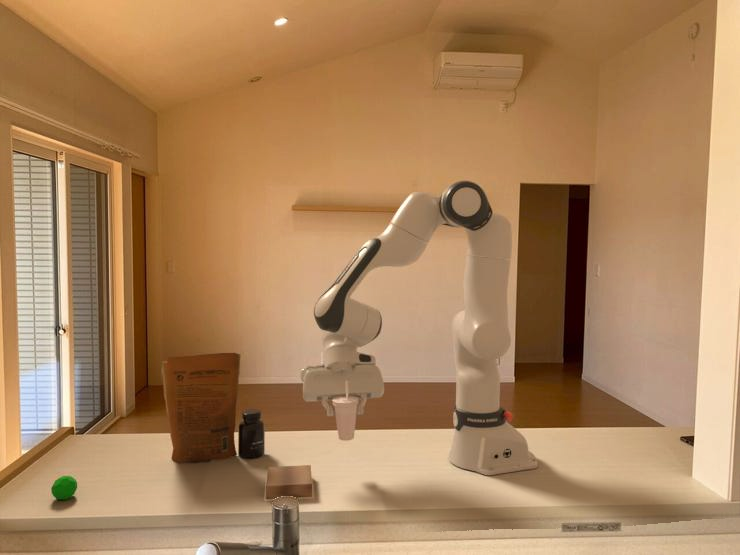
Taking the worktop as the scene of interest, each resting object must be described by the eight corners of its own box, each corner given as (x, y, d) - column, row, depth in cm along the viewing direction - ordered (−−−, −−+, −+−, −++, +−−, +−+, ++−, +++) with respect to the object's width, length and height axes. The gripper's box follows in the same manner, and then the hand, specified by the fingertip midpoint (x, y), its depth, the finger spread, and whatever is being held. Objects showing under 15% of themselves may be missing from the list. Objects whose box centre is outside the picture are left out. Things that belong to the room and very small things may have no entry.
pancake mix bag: (241, 462, 142) (239, 354, 140) (162, 467, 139) (160, 356, 137) (242, 452, 149) (241, 349, 147) (168, 456, 146) (165, 351, 144)
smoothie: (349, 444, 131) (348, 386, 130) (327, 439, 134) (326, 382, 133) (364, 435, 136) (363, 379, 135) (343, 431, 140) (341, 376, 138)
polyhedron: (47, 503, 120) (46, 482, 120) (59, 492, 125) (58, 472, 125) (70, 503, 120) (69, 482, 120) (81, 493, 125) (81, 472, 125)
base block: (310, 477, 133) (310, 465, 133) (312, 496, 123) (312, 483, 123) (268, 479, 132) (268, 467, 131) (266, 499, 122) (265, 486, 121)
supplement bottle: (258, 462, 143) (258, 416, 142) (233, 459, 144) (233, 414, 143) (268, 451, 149) (268, 408, 148) (245, 449, 151) (244, 406, 150)
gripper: (300, 360, 139) (302, 410, 130) (381, 356, 142) (388, 405, 133) (300, 373, 144) (302, 422, 135) (378, 369, 147) (385, 417, 138)
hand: (345, 414), depth 134 cm, fingers closed on smoothie, 6 cm apart
